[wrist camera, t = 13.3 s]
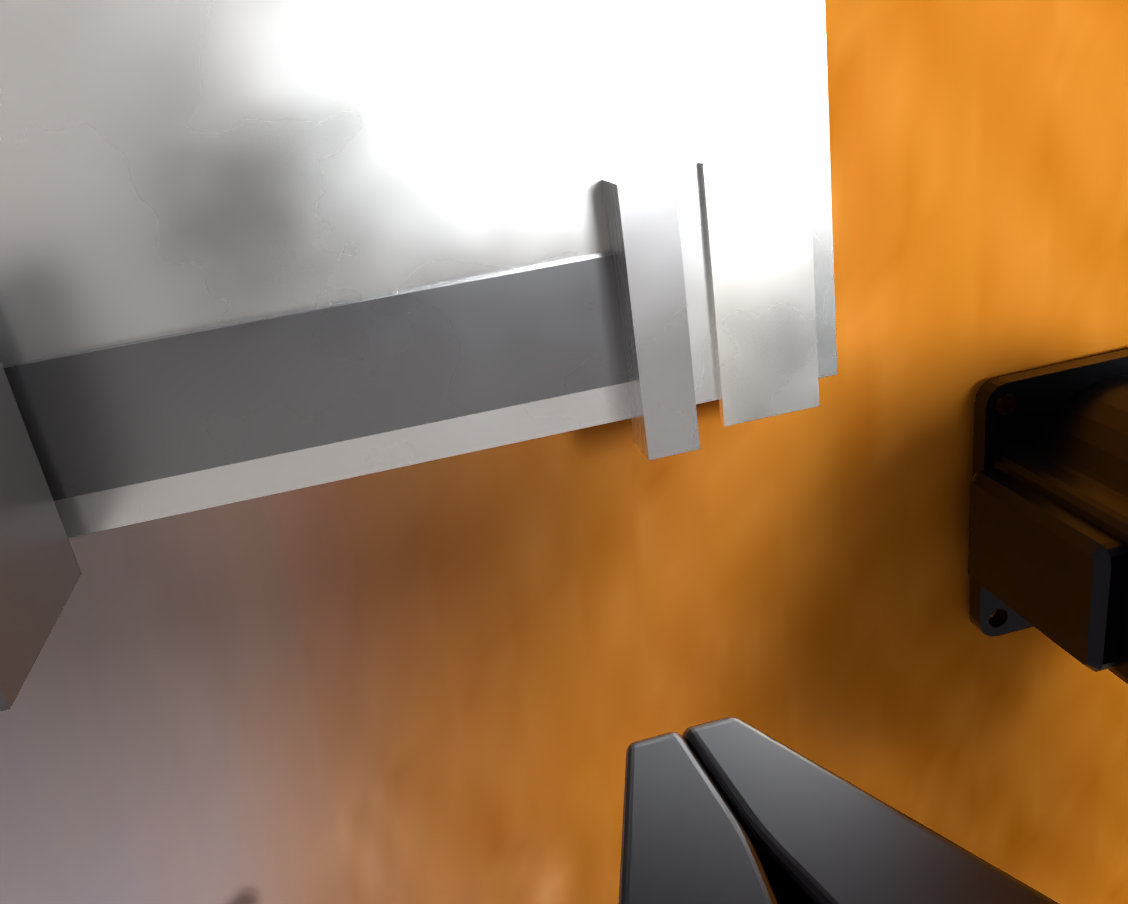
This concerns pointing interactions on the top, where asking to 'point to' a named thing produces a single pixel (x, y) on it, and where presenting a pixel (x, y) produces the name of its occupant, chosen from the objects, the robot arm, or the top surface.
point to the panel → (400, 233)
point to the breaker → (27, 552)
